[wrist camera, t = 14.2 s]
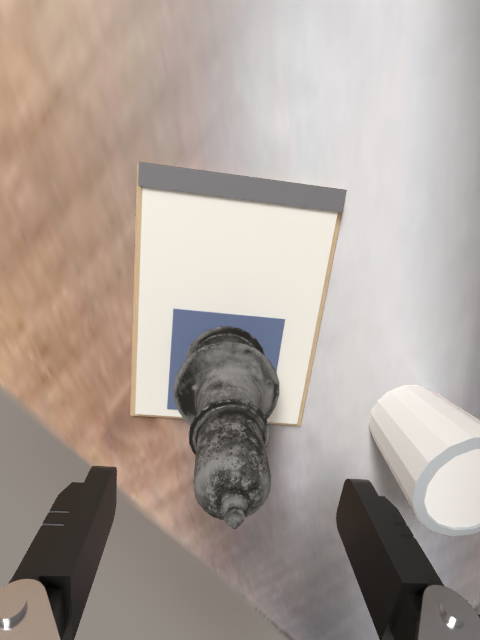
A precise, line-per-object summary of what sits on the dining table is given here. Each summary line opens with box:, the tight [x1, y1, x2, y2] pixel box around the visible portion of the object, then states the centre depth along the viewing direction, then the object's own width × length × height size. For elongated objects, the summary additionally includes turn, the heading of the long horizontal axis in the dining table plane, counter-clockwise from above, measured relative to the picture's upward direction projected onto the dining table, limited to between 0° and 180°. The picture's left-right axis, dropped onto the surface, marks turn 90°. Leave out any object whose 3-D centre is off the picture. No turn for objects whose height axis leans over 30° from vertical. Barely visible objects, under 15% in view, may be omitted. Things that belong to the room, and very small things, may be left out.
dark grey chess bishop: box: [173, 326, 279, 529], centre depth 16 cm, size 6×6×12 cm
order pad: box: [130, 162, 347, 426], centre depth 21 cm, size 16×12×1 cm
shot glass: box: [369, 385, 480, 536], centre depth 22 cm, size 7×7×7 cm
